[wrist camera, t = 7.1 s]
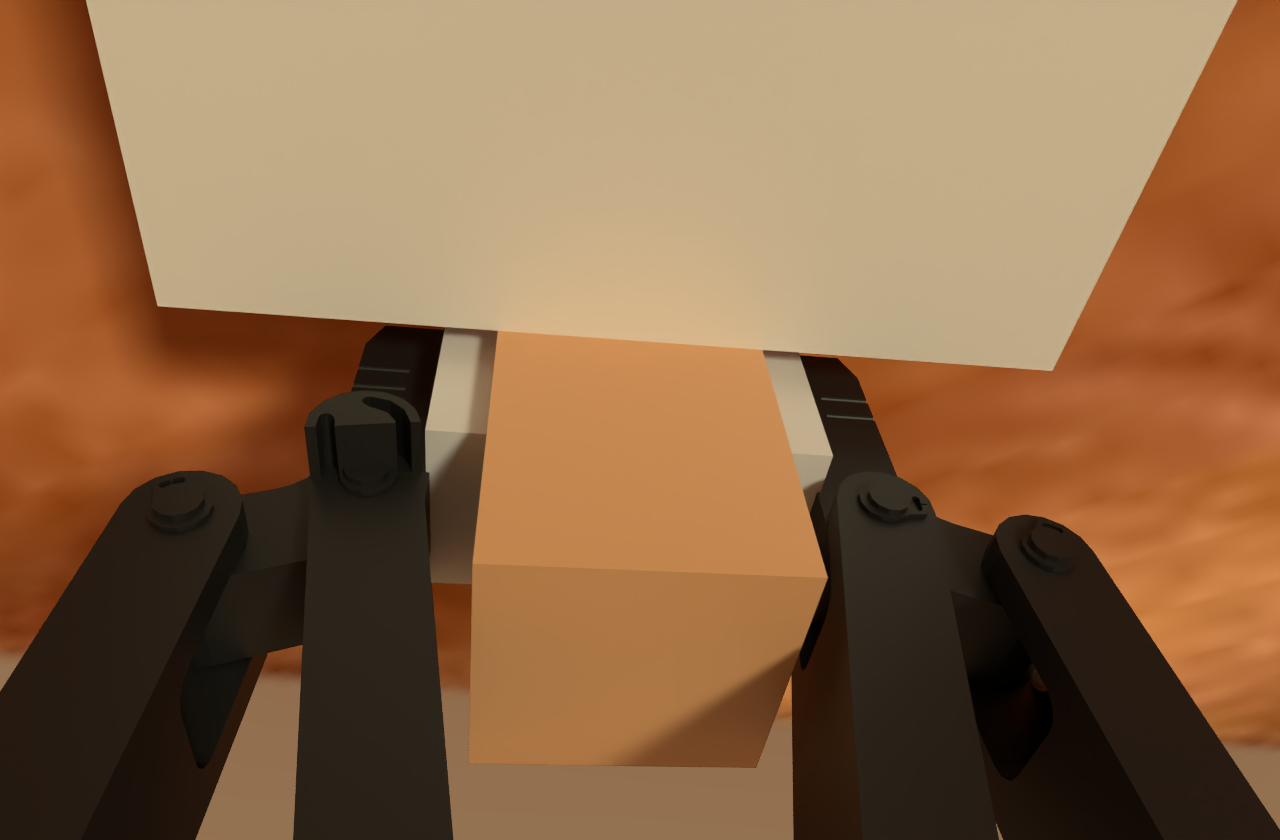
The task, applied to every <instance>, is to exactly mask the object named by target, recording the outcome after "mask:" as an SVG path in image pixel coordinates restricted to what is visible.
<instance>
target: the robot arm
mask: <svg viewBox="0 0 1280 840" xmlns="http://www.w3.org/2000/svg"><path fill="white" fill-rule="evenodd" d="M497 334H498V331H494V330H480V329H467V328H453V327H445V330H436V329H423V328H410V327H397V326H385V327H384V328H383V329H382V330H380V331H379V332H378V333H377V334H376V335H375V336H374V337H373V338H372V339H371V340H370V341H368V342H367V343H366V345H365V349H364V352H363V355H362V358H361V361H360V365H359V370H358V371H357V374H356V378H355V381H354V388H353V387H352V391H351V392H349V393H342V394H340V395H337V396H335V397H332V398H330V399H328V400H325V401H323V402H322V403H321V404H320V405H318V406H317V407H316V408H315V409H314V410H313V411H312V412H310V414H309V416H308V419H307V421H306V424H305V427H304V428H305V436H306V444H307V452H308V461H309V469H310V476H309V477H308V478H306V479H304V480H302V481H299V482H297V483H295V484H292V485H289V486H285V487H281V488H278V489H274V490H268V491H262V492H256V493H250V494H244V495H240V493H239V490H238V488H237V486H236V485H235V484H233V483H232V482H231V481H229V480H228V479H226V478H225V477H223V476H222V475H217V474H213V473H209V472H205V471H179V472H175V473H171V474H167V475H164V476H160V477H156V478H154V479H152V480H150V481H148V482H147V483H145V484H143V485H141V486H139V487H138V488H136V489H134V490H133V491H132V493H131V494H130V495H129V496H128V497H127V498H126V499H125V500H124V501H123V502H122V503H121V504H120V506H119V507H118V509H117V510H116V512H115V514H114V515H113V517H112V518H111V520H110V521H109V523H108V524H107V526H106V528H105V529H104V531H103V532H102V534H101V535H100V537H99V538H98V540H97V542H96V543H95V545H94V546H93V548H92V549H91V551H90V553H89V554H88V556H87V557H86V559H85V560H84V562H83V563H82V565H81V567H80V568H79V570H78V571H77V573H76V574H75V576H74V577H73V579H72V581H71V582H70V584H69V585H68V587H67V588H66V590H65V592H64V593H63V595H62V596H61V598H60V599H59V601H58V602H57V604H56V606H55V607H54V609H53V610H52V612H51V613H50V615H49V616H48V618H47V620H46V621H45V623H44V624H43V626H42V627H41V629H40V631H39V632H38V634H37V635H36V637H35V638H34V640H33V641H32V643H31V645H30V646H29V648H28V649H27V651H26V652H25V654H24V655H23V657H22V659H21V660H20V662H19V663H18V665H17V666H16V668H15V670H14V671H13V673H12V674H11V676H10V678H9V679H8V680H7V682H6V684H5V685H4V687H3V688H2V690H1V691H0V840H195V839H196V836H197V834H198V831H199V828H200V826H201V823H202V821H203V818H204V816H205V813H206V811H207V808H208V806H209V803H210V800H211V798H212V795H213V793H214V790H215V788H216V785H217V783H218V780H219V777H220V775H221V772H222V770H223V767H224V764H225V762H226V759H227V757H228V754H229V752H230V749H231V747H232V744H233V742H234V739H235V736H236V734H237V731H238V729H239V726H240V724H241V721H242V718H243V716H244V713H245V710H246V708H247V705H248V703H249V700H250V698H251V695H252V692H253V690H254V688H255V685H256V682H257V680H258V677H259V675H260V672H261V670H262V667H263V664H264V662H265V659H266V657H267V653H269V652H273V651H278V650H282V649H286V648H290V647H295V646H299V645H303V650H302V671H301V691H300V713H299V732H298V733H299V734H298V753H297V773H296V794H295V815H294V836H293V840H453V832H452V820H451V809H450V796H449V785H448V772H447V760H446V750H445V737H444V725H443V713H442V701H441V689H440V678H439V666H438V654H437V642H436V630H435V618H434V607H433V595H432V583H449V584H472V563H473V554H474V545H475V536H476V527H477V518H478V508H479V499H480V490H481V481H482V472H483V462H484V453H485V444H486V435H487V426H488V417H489V407H490V398H491V389H492V380H493V371H494V361H495V352H496V343H497ZM762 351H763V354H764V358H765V361H766V365H767V368H768V371H769V375H770V378H771V382H772V385H773V389H774V392H775V396H776V399H777V403H778V406H779V410H780V413H781V417H782V420H783V424H784V427H785V431H786V434H787V438H788V441H789V445H790V448H791V451H792V455H793V458H794V462H795V465H796V469H797V472H798V476H799V479H800V483H801V486H802V490H803V493H804V497H805V500H806V504H807V507H808V511H809V514H810V518H811V521H812V524H813V528H814V531H815V535H816V538H817V542H818V545H819V549H820V552H821V556H822V559H823V563H824V566H825V570H826V573H827V577H828V579H827V582H826V584H825V587H824V590H823V592H822V595H821V597H820V600H819V603H818V605H817V608H816V611H815V613H814V616H813V619H812V621H811V624H810V627H809V629H808V632H807V634H806V637H805V640H804V642H803V645H802V648H801V650H800V653H799V656H798V658H797V661H796V664H795V666H794V669H793V671H792V741H793V742H792V748H793V817H794V818H793V820H794V822H793V824H794V840H999V837H998V832H997V827H996V824H997V826H998V828H999V830H1000V833H1001V835H1002V838H1003V840H1280V829H1279V828H1278V826H1277V825H1276V823H1275V822H1274V820H1273V819H1272V818H1271V816H1270V814H1269V813H1268V811H1267V810H1266V809H1265V807H1264V805H1263V804H1262V803H1261V801H1260V800H1259V798H1258V797H1257V795H1256V794H1255V792H1254V791H1253V789H1252V788H1251V786H1250V785H1249V783H1248V782H1247V780H1246V779H1245V777H1244V776H1243V774H1242V773H1241V771H1240V770H1239V768H1238V767H1237V765H1236V764H1235V762H1234V761H1233V759H1232V758H1231V756H1230V755H1229V753H1228V752H1227V750H1226V749H1225V747H1224V746H1223V744H1222V743H1221V741H1220V740H1219V738H1218V737H1217V735H1216V734H1215V732H1214V731H1213V729H1212V728H1211V726H1210V725H1209V723H1208V722H1207V720H1206V719H1205V717H1204V716H1203V714H1202V713H1201V711H1200V710H1199V708H1198V707H1197V705H1196V704H1195V702H1194V701H1193V699H1192V698H1191V696H1190V695H1189V694H1188V692H1187V691H1186V689H1185V688H1184V686H1183V685H1182V683H1181V682H1180V680H1179V679H1178V677H1177V676H1176V674H1175V673H1174V671H1173V670H1172V668H1171V667H1170V665H1169V664H1168V662H1167V661H1166V659H1165V658H1164V656H1163V655H1162V653H1161V652H1160V650H1159V649H1158V647H1157V646H1156V644H1155V643H1154V641H1153V640H1152V638H1151V637H1150V635H1149V634H1148V632H1147V631H1146V629H1145V628H1144V626H1143V625H1142V623H1141V622H1140V620H1139V619H1138V617H1137V616H1136V614H1135V613H1134V611H1133V610H1132V608H1131V607H1130V605H1129V604H1128V602H1127V601H1126V599H1125V598H1124V596H1123V595H1122V593H1121V592H1120V590H1119V589H1118V587H1117V586H1116V585H1115V583H1114V582H1113V580H1112V579H1111V577H1110V576H1109V574H1108V573H1107V571H1106V570H1105V568H1104V567H1103V565H1102V564H1101V562H1100V561H1099V559H1098V558H1097V556H1096V555H1095V553H1094V552H1093V550H1092V549H1091V548H1090V547H1089V546H1088V545H1087V544H1086V543H1085V542H1084V540H1083V539H1082V538H1081V537H1080V536H1078V535H1077V534H1075V533H1074V532H1072V531H1071V530H1069V529H1068V528H1066V527H1065V526H1063V525H1061V524H1059V523H1056V522H1054V521H1051V520H1049V519H1046V518H1044V517H1037V516H1031V515H1019V516H1013V517H1009V518H1007V519H1006V520H1005V521H1003V522H1002V523H1001V524H999V526H998V528H997V530H996V531H995V533H994V535H990V534H987V533H983V532H980V531H976V530H973V529H970V528H966V527H963V526H959V525H956V524H953V523H950V522H948V521H945V520H942V519H940V518H938V517H936V514H935V512H934V510H933V507H932V505H931V503H930V501H929V499H928V498H927V497H926V496H925V495H924V494H923V493H922V492H921V491H920V490H919V489H918V488H917V487H915V486H913V485H912V484H910V483H908V482H906V481H905V480H903V479H901V478H899V477H897V475H896V472H895V470H894V467H893V465H892V462H891V460H890V457H889V455H888V452H887V450H886V448H885V445H884V443H883V440H882V438H881V435H880V433H879V430H878V428H877V425H876V423H875V421H873V416H872V413H871V411H870V408H869V406H868V404H866V398H865V396H864V393H863V391H862V388H861V386H860V383H859V381H858V379H857V377H856V376H855V375H854V374H853V373H852V372H851V371H850V370H849V369H848V368H847V367H846V366H845V365H844V364H843V363H842V362H841V361H840V360H839V359H838V358H826V357H813V356H801V355H799V352H785V351H771V350H762ZM995 821H996V822H995Z"/></svg>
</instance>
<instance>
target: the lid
mask: <svg viewBox="0 0 1280 840" xmlns="http://www.w3.org/2000/svg"><path fill="white" fill-rule="evenodd" d="M1236 2H1237V0H86V3H87V7H88V11H89V16H90V20H91V24H92V28H93V33H94V37H95V41H96V45H97V50H98V54H99V58H100V63H101V67H102V71H103V75H104V80H105V84H106V88H107V92H108V97H109V101H110V105H111V110H112V114H113V118H114V122H115V127H116V131H117V135H118V139H119V144H120V148H121V152H122V157H123V161H124V165H125V169H126V174H127V178H128V182H129V186H130V191H131V195H132V199H133V204H134V208H135V212H136V216H137V221H138V225H139V229H140V233H141V238H142V242H143V246H144V251H145V255H146V259H147V263H148V268H149V272H150V276H151V280H152V285H153V289H154V293H155V298H156V302H157V306H162V307H176V308H190V309H204V310H217V311H231V312H245V313H259V314H273V315H287V316H300V317H314V318H328V319H342V320H356V321H370V322H383V323H397V324H411V325H425V326H439V327H453V328H467V329H480V330H494V331H498V334H497V343H496V352H495V361H494V371H493V380H492V389H491V398H490V407H489V417H488V426H487V435H486V444H485V453H484V462H483V472H482V481H481V490H480V499H479V508H478V518H477V527H476V536H475V545H474V554H473V563H472V615H471V666H470V719H469V764H516V765H518V764H519V765H592V766H594V765H595V766H598V765H599V766H669V767H676V766H677V767H743V768H744V767H745V768H750V767H751V768H756V767H757V764H758V761H759V759H760V756H761V753H762V751H763V748H764V746H765V743H766V740H767V738H768V735H769V732H770V729H771V727H772V724H773V722H774V719H775V716H776V714H777V711H778V709H779V706H780V703H781V701H782V698H783V695H784V693H785V690H786V687H787V685H788V682H789V679H790V677H791V674H792V671H793V669H794V666H795V664H796V661H797V658H798V656H799V653H800V650H801V648H802V645H803V642H804V640H805V637H806V634H807V632H808V629H809V627H810V624H811V621H812V619H813V616H814V613H815V611H816V608H817V605H818V603H819V600H820V597H821V595H822V592H823V590H824V587H825V584H826V582H827V579H828V577H827V573H826V570H825V566H824V563H823V559H822V556H821V552H820V549H819V545H818V542H817V538H816V535H815V531H814V528H813V524H812V521H811V518H810V514H809V511H808V507H807V504H806V500H805V497H804V493H803V490H802V486H801V483H800V479H799V476H798V472H797V469H796V465H795V462H794V458H793V455H792V451H791V448H790V445H789V441H788V438H787V434H786V431H785V427H784V424H783V420H782V417H781V413H780V410H779V406H778V403H777V399H776V396H775V392H774V389H773V385H772V382H771V378H770V375H769V371H768V368H767V365H766V361H765V358H764V354H763V351H762V350H771V351H785V352H799V353H813V354H826V355H840V356H854V357H868V358H882V359H896V360H910V361H923V362H937V363H951V364H965V365H979V366H993V367H1006V368H1020V369H1034V370H1048V371H1052V370H1053V368H1054V366H1055V364H1056V362H1057V360H1058V358H1059V356H1060V354H1061V352H1062V350H1063V348H1064V346H1065V344H1066V342H1067V340H1068V338H1069V336H1070V334H1071V332H1072V330H1073V328H1074V326H1075V324H1076V322H1077V320H1078V318H1079V316H1080V314H1081V312H1082V310H1083V308H1084V306H1085V304H1086V302H1087V300H1088V298H1089V296H1090V294H1091V292H1092V290H1093V288H1094V286H1095V284H1096V282H1097V280H1098V278H1099V276H1100V274H1101V272H1102V270H1103V268H1104V266H1105V264H1106V262H1107V260H1108V258H1109V256H1110V254H1111V252H1112V250H1113V248H1114V246H1115V244H1116V242H1117V240H1118V238H1119V236H1120V234H1121V232H1122V230H1123V228H1124V226H1125V224H1126V222H1127V220H1128V218H1129V216H1130V214H1131V212H1132V210H1133V208H1134V206H1135V204H1136V202H1137V200H1138V198H1139V196H1140V194H1141V192H1142V190H1143V188H1144V186H1145V184H1146V182H1147V180H1148V178H1149V176H1150V174H1151V172H1152V170H1153V168H1154V166H1155V164H1156V162H1157V160H1158V158H1159V156H1160V154H1161V152H1162V150H1163V148H1164V146H1165V144H1166V142H1167V140H1168V138H1169V136H1170V134H1171V132H1172V130H1173V128H1174V126H1175V124H1176V122H1177V120H1178V118H1179V116H1180V114H1181V112H1182V110H1183V108H1184V106H1185V104H1186V102H1187V100H1188V98H1189V96H1190V94H1191V92H1192V90H1193V88H1194V86H1195V84H1196V82H1197V80H1198V78H1199V76H1200V74H1201V72H1202V70H1203V68H1204V66H1205V64H1206V62H1207V60H1208V58H1209V56H1210V54H1211V52H1212V50H1213V48H1214V46H1215V44H1216V42H1217V40H1218V38H1219V36H1220V34H1221V32H1222V30H1223V28H1224V26H1225V24H1226V22H1227V20H1228V18H1229V16H1230V14H1231V12H1232V10H1233V8H1234V6H1235V4H1236Z"/></svg>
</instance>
